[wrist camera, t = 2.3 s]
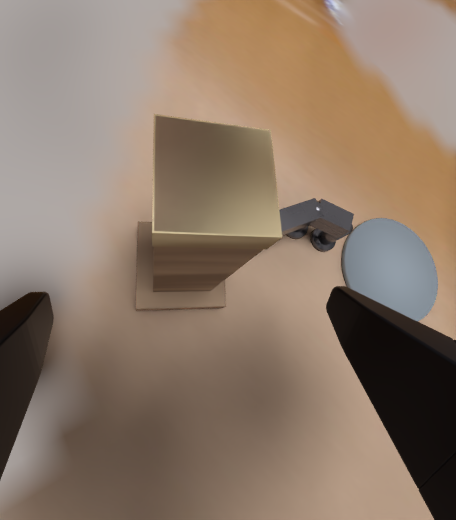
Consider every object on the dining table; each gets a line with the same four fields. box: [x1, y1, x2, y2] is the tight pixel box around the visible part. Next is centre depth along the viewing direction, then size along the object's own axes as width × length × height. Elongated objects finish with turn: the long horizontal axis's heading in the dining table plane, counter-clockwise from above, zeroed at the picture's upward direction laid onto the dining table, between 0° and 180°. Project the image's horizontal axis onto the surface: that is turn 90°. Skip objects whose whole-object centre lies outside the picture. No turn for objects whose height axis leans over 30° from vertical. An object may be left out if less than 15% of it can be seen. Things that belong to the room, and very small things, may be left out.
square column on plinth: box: [136, 114, 282, 311], centre depth 14 cm, size 6×6×12 cm
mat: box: [342, 218, 438, 322], centre depth 24 cm, size 9×9×1 cm
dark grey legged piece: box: [259, 198, 354, 253], centre depth 21 cm, size 4×8×4 cm, turn 81°
